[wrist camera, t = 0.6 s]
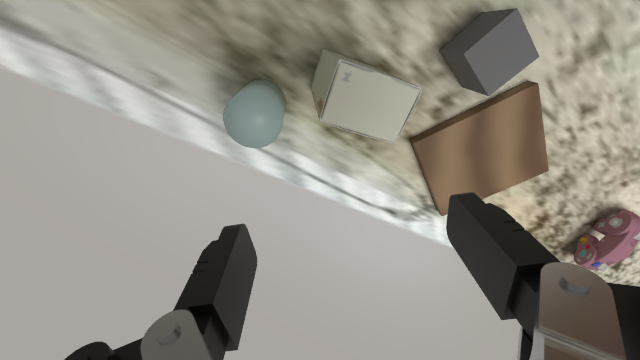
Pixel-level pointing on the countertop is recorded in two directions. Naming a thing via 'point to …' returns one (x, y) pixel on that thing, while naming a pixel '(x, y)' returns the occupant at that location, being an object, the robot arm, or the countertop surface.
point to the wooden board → (485, 147)
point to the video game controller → (609, 241)
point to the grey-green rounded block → (255, 114)
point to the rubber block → (490, 51)
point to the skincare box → (362, 97)
